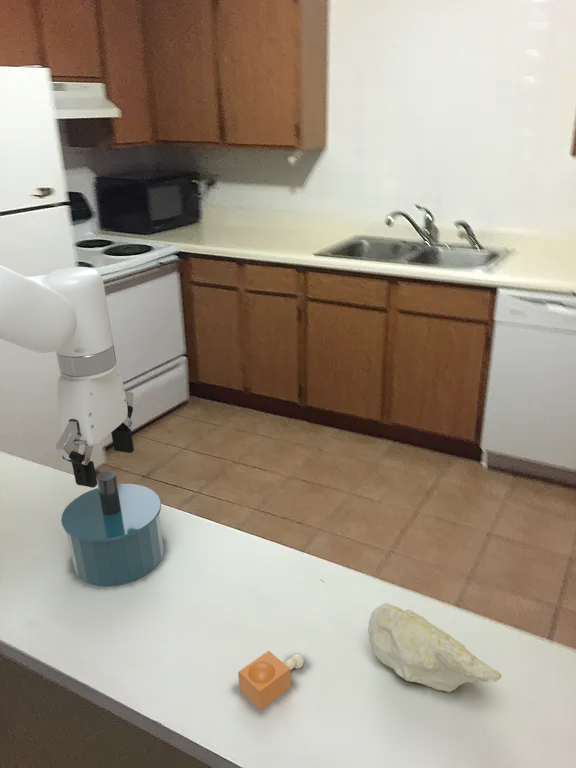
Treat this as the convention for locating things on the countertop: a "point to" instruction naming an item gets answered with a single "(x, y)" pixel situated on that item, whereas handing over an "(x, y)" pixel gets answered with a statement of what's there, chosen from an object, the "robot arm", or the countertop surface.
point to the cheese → (423, 651)
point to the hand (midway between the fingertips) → (106, 467)
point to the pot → (118, 557)
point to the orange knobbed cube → (267, 678)
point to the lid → (110, 511)
